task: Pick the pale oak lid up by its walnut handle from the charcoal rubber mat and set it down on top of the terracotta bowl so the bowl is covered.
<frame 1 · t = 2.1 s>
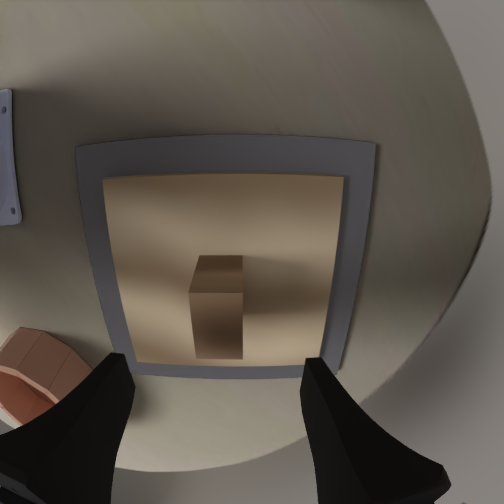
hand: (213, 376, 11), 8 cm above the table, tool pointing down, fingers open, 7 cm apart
mat: (222, 277, 19), on the table
lid: (222, 281, 18), resting on mat
bowl: (52, 374, 23), on the table
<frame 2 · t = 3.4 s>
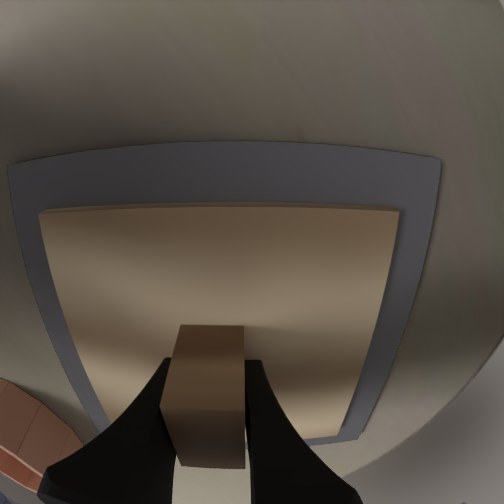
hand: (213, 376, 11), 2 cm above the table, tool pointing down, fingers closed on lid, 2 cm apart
mat: (216, 346, 13), on the table
lid: (215, 353, 13), resting on mat, touching gripper
bowl: (27, 422, 17), on the table
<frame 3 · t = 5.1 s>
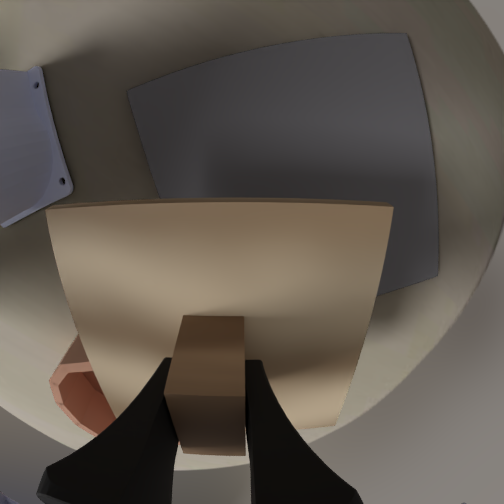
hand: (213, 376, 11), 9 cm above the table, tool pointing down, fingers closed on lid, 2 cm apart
mat: (309, 186, 18), on the table
lid: (217, 343, 13), point 7 cm above the table, touching gripper
bowl: (131, 370, 23), on the table
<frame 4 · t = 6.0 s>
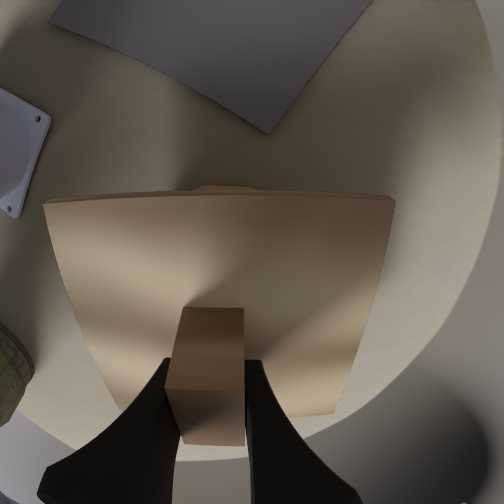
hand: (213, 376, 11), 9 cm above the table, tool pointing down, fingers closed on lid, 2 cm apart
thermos: (5, 350, 23), on the table
lid: (216, 334, 13), point 7 cm above the table, touching gripper
when the fingers open (8 cm above the table, at t = 6.9 s): lid stays where it is, resting on bowl.
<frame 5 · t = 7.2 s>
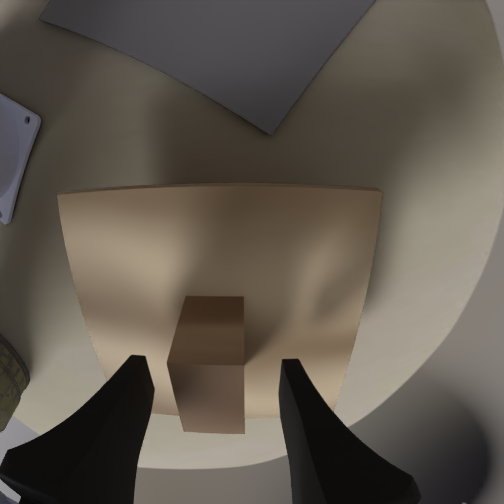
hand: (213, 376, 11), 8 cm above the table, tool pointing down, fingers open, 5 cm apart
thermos: (0, 357, 22), on the table
lid: (217, 326, 14), point 5 cm above the table, touching bowl
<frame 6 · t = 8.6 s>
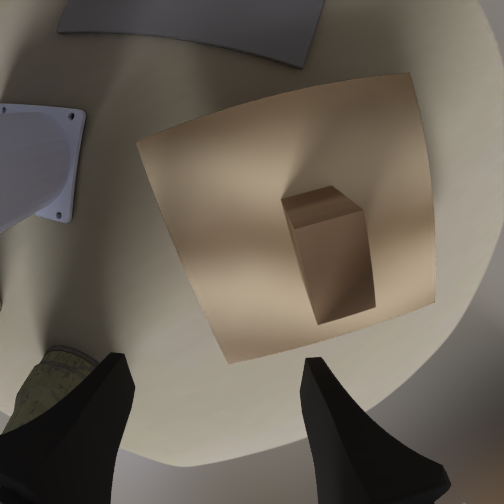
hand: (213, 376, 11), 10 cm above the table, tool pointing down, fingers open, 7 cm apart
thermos: (80, 376, 26), on the table
lid: (313, 228, 15), point 5 cm above the table, touching bowl
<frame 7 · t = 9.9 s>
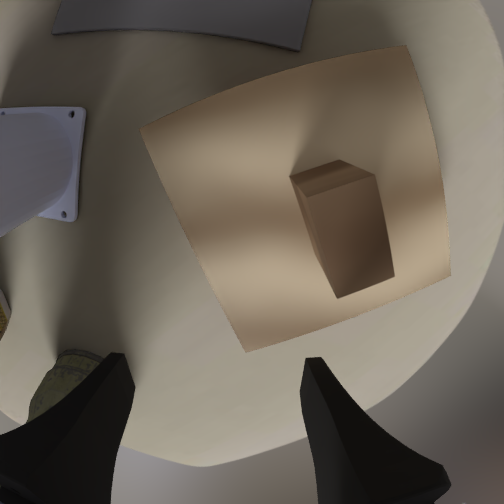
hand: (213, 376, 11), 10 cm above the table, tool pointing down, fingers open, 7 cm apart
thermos: (94, 380, 26), on the table
lid: (324, 205, 14), point 5 cm above the table, touching bowl
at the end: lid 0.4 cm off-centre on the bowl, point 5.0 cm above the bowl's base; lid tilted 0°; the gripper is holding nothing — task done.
